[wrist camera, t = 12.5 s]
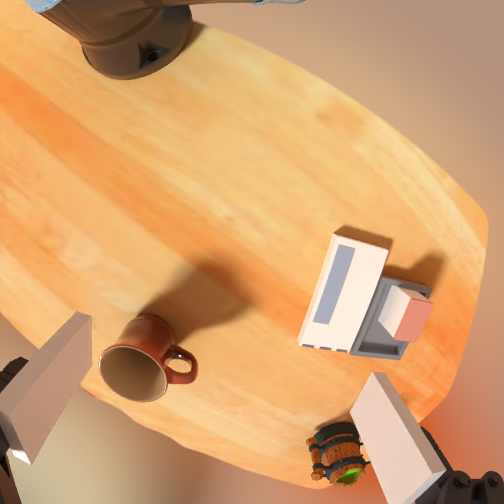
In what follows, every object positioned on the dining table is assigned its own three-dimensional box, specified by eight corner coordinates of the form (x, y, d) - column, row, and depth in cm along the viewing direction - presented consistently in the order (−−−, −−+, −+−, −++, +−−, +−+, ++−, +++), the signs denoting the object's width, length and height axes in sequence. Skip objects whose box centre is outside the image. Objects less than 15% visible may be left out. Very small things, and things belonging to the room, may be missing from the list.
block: (392, 283, 40) (412, 299, 34) (412, 288, 41) (433, 303, 35) (378, 320, 42) (395, 339, 36) (398, 323, 42) (416, 342, 36)
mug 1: (125, 353, 42) (103, 394, 32) (122, 302, 40) (94, 338, 30) (201, 365, 43) (194, 411, 33) (205, 314, 41) (196, 356, 31)
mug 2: (369, 425, 49) (388, 466, 38) (339, 455, 51) (352, 496, 40) (317, 413, 47) (332, 462, 36) (287, 446, 49) (295, 492, 38)
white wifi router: (333, 233, 38) (337, 235, 37) (383, 247, 39) (389, 250, 38) (297, 339, 42) (299, 345, 41) (345, 346, 43) (349, 352, 41)
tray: (377, 273, 40) (382, 277, 38) (425, 285, 41) (431, 289, 39) (347, 348, 43) (350, 355, 41) (395, 354, 44) (400, 359, 42)
